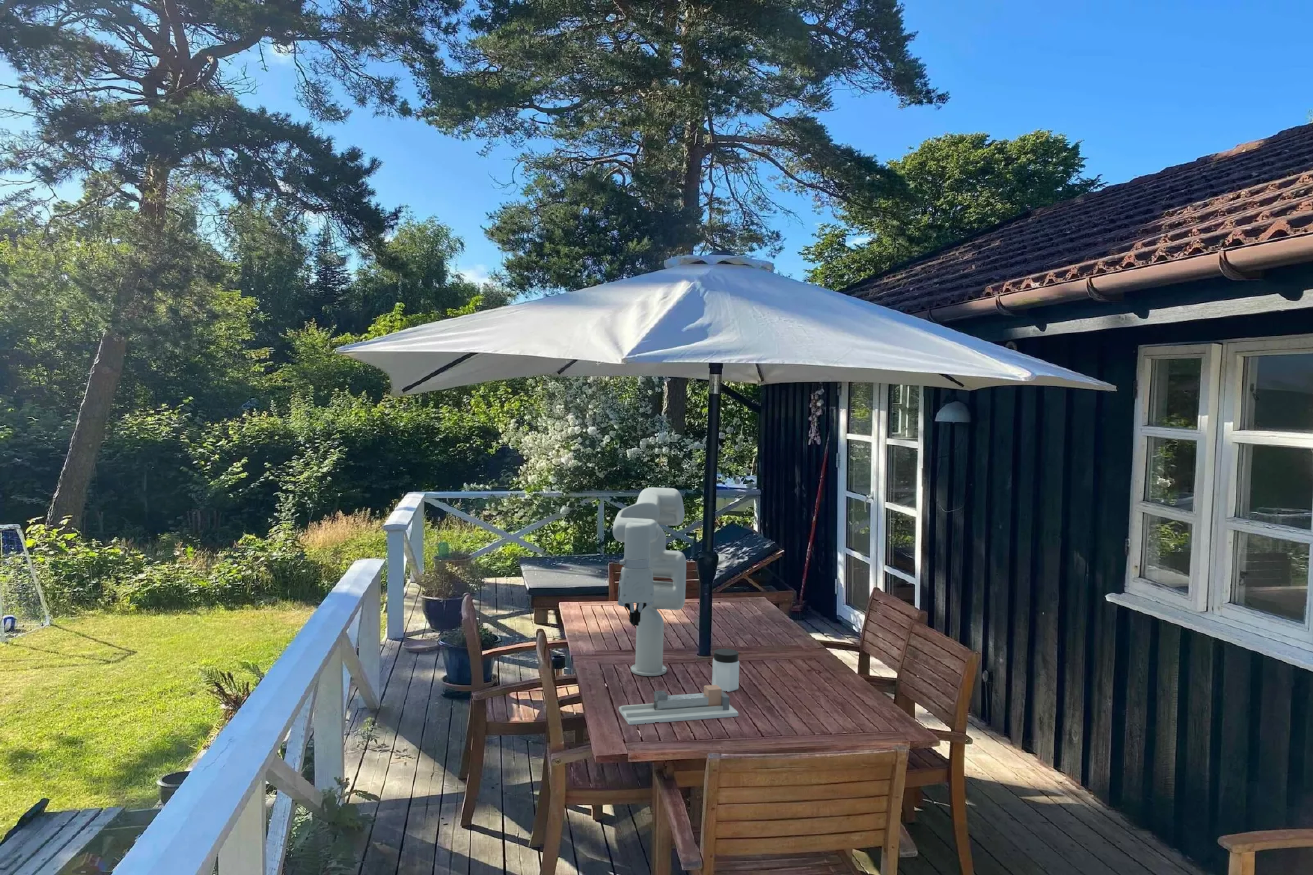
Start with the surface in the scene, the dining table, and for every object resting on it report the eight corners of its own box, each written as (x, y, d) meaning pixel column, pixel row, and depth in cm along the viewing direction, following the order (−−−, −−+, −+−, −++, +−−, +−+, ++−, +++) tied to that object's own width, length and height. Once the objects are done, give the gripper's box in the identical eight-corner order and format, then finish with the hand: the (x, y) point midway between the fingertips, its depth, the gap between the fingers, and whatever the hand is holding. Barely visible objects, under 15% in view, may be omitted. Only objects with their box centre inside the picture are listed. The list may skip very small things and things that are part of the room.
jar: (725, 682, 291) (726, 646, 291) (743, 688, 285) (744, 652, 285) (706, 687, 285) (708, 651, 285) (725, 693, 279) (726, 657, 279)
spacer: (703, 705, 264) (703, 685, 264) (716, 704, 265) (716, 684, 265) (707, 709, 260) (708, 690, 260) (720, 708, 261) (721, 689, 261)
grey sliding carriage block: (653, 708, 259) (654, 691, 259) (703, 704, 264) (704, 687, 264) (657, 712, 255) (658, 695, 255) (708, 709, 260) (708, 692, 260)
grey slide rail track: (618, 710, 260) (619, 693, 260) (723, 703, 270) (724, 686, 270) (629, 724, 249) (629, 707, 248) (738, 716, 258) (738, 699, 258)
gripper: (615, 566, 250) (613, 629, 250) (664, 565, 254) (662, 626, 255) (609, 561, 257) (607, 622, 258) (656, 560, 261) (655, 620, 262)
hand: (634, 624), depth 256 cm, fingers closed
